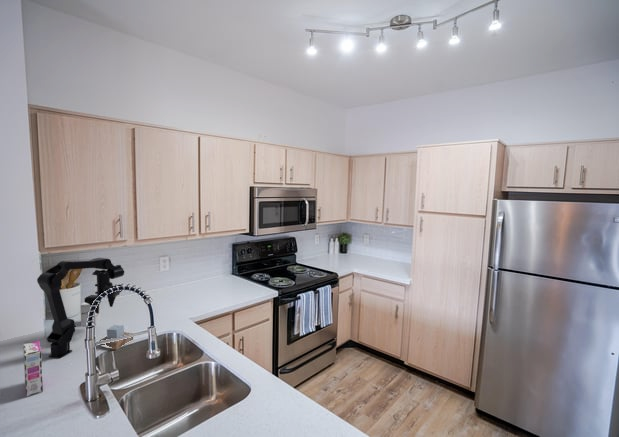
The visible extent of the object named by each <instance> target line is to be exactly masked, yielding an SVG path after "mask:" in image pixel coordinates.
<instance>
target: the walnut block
mask: <svg viewBox="0 0 619 437" xmlns="http://www.w3.org/2000/svg"><path fill="white" fill-rule="evenodd" d="M129 334H133V335H134V333H132V332H127V331H126V332H125V331H124V335H129ZM124 335H123V336H124ZM106 339H107V336H105V337H103V338H101V339H99V342H100V341H101V340H106ZM131 340H133V341H134V336H133V337H131V338H127V339H123V340H119V341H114V342H110V343H106V345H107V346H109V347H112V348H114V349H113V350H114V351H118V350H119V349H121V348H122V347H121V346H122V345H124V344H125V343H127V342H129V341H131ZM131 342H132V341H131ZM129 343H130V342H129ZM101 345H105V344H101ZM124 346H125V345H124ZM120 347H121V348H120Z"/></svg>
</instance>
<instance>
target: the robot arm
mask: <svg viewBox="0 0 619 437" xmlns="http://www.w3.org/2000/svg"><path fill="white" fill-rule="evenodd" d="M83 269H95V270H94V272H92V275H93V276H96V283H95V284H94V287H96V291H94V292H95V294H90V295H88V296H86V297H85V298H84V302H85V303H88V304H90V305H92V303H93V301H94V300H95V299H96V298H97V297H98V296H99V295H100V294H101V293H103V292H104V291H106V290H108V289H109V288H113V287H116V286H121V285H122V284H117V285H113V282H111V280H115V279H118V278H120V277H123V276H124V275H125V270H124V268H123V267H122V265H121V264H116V265H114V264H113V263H112V261H111V259H110V258H106V257H105V258H104V257H97V258H92V259H88V260H68V261H67V260H62V261H60V262H58V263H56V265H54V266H52V267H51V268H48V269H47V270H46V271H45V272H43V273H41V274H40V275H39V276H38V277H37V281H36V282H37V284H38V285H39V288H40V289H41V291H43V292H44V294H45V295H46V297H47V298H46V299H47V301H48V305H49V307H50V308H49V309H50V311H51V312H50V313H51V316H52V319H53V323H52V325H51V330H52V331H51V332H50V333H49V335H48V336H47V337H46V341H47V343H50V354H49V355H47V357H48V358H53V359H61V358H63V357H66V356H67V355H69V354H70V353H72V352H73V350H72V349H71V345H70V344H71V343H70V342H71V341H72V339H73V336H74V333H75V332H76V328H77V326H76V324H75V319H72V318H68V316H67V315H68V314H67V313H66V309H65V306H64V301H63V297H62V294H61V287H62V285H63V284H62V281H63V280H64V279H65V278H66V276H67V275H68V273H69V272H70V271H71V270H83ZM122 292H123V289H122V290H121V291H116V292H113V293H111V294H108V295H106V296H107V297H106V298H107V301H108V305H109V307H110V308H112V307H113V306H114V304H115V300H116V298H117V296H119V295H120V294H121V293H122ZM101 303H102V301H101V300H100V302H99V304H100V305H101ZM99 304H98V306H97V308H96V310H95V312H96V313H97V314H98V313H99Z"/></svg>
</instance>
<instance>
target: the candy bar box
mask: <svg viewBox="0 0 619 437" xmlns="http://www.w3.org/2000/svg"><path fill="white" fill-rule="evenodd" d="M40 343H41V342H40V340H37V341H31V342H29V343H23V366H24V367H23V368H24V369H23V370H24V384H25V388H24V389H25V396H26V397H27V398H28V397H31V396H33V395H37V394H40V393H42V392H44V391H43V390H44V385H43V361H42V360H43V358H42V349H41V344H40Z"/></svg>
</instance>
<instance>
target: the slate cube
mask: <svg viewBox="0 0 619 437" xmlns="http://www.w3.org/2000/svg"><path fill="white" fill-rule="evenodd" d="M124 332H125V329H124V325H122V324H121V325H119V324H117V325H116V324H114V325H112V326H110V327H109V328H107V329H106V335H107V336H106V337H107V339H111V338H117V337H120V336H123V335H124Z"/></svg>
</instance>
